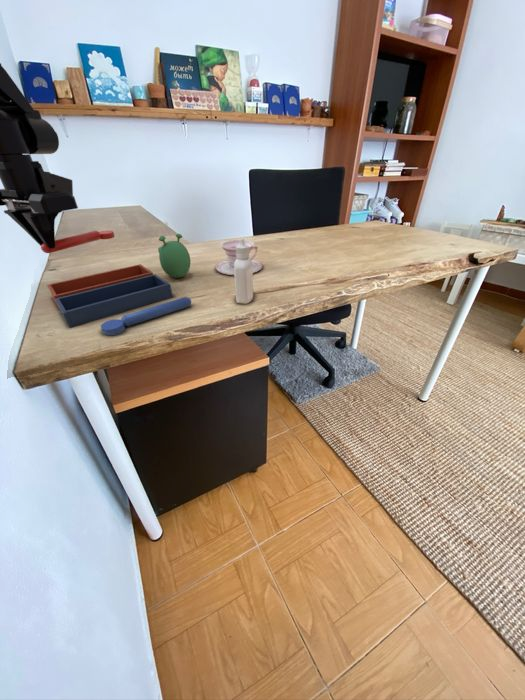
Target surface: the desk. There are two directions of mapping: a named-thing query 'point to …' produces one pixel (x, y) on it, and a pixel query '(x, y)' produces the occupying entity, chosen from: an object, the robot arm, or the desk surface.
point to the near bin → (112, 299)
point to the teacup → (230, 249)
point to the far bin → (97, 281)
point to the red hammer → (78, 240)
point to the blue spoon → (143, 316)
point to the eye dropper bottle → (243, 274)
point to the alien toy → (174, 257)
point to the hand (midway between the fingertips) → (48, 247)
